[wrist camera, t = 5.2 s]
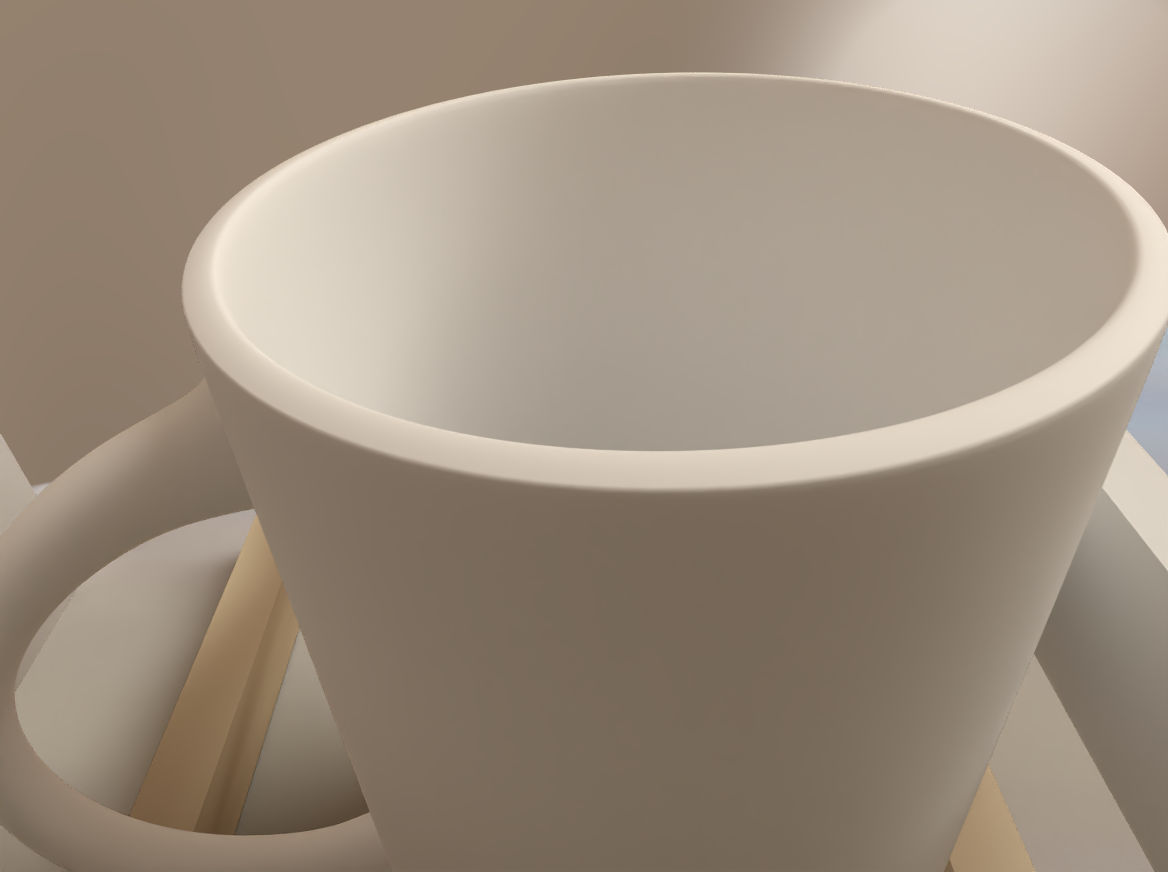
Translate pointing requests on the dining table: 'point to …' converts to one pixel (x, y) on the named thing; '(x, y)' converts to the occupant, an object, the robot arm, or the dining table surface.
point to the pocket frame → (248, 696)
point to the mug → (633, 470)
